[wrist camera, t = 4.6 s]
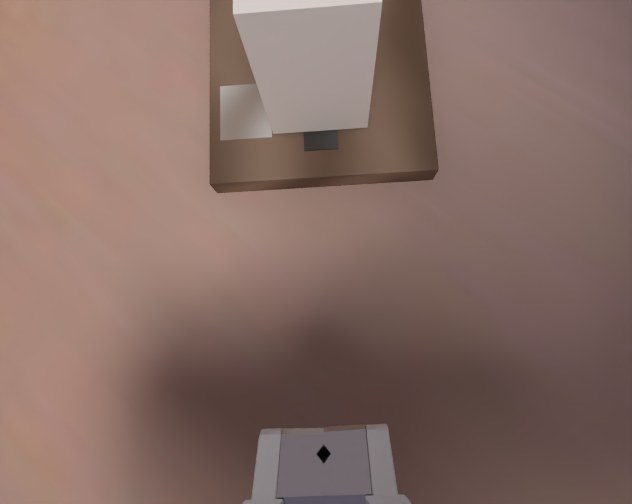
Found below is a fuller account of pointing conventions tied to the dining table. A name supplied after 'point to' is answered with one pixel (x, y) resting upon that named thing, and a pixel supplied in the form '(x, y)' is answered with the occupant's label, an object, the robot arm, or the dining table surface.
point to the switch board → (330, 145)
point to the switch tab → (311, 60)
